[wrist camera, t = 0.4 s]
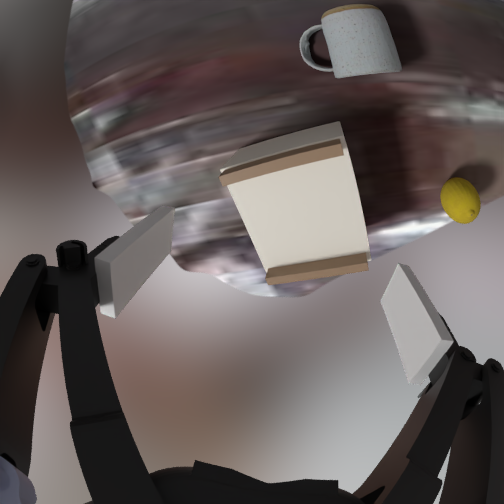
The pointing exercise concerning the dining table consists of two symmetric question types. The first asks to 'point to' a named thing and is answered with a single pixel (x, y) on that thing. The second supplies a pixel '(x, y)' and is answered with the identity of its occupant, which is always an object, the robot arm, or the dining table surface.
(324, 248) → the display stand
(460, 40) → the dining table surface
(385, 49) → the ceramic mug
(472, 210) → the lemon
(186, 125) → the dining table surface
